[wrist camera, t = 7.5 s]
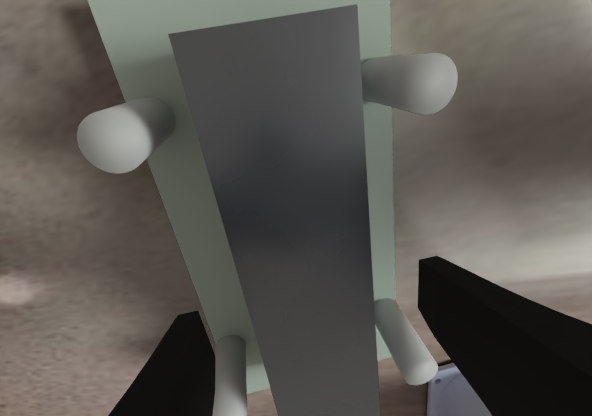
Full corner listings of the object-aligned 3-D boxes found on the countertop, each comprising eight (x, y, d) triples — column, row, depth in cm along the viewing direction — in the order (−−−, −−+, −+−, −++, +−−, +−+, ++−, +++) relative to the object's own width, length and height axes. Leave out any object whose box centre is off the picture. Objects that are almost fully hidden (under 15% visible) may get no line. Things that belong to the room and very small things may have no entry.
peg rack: (387, 336, 20) (434, 421, 16) (234, 374, 20) (231, 478, 15) (374, -37, 12) (470, -111, 7) (101, 3, 11) (-12, -49, 6)
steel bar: (346, 343, 18) (381, 436, 14) (278, 361, 18) (291, 461, 13) (310, 29, 11) (357, 4, 7) (198, 48, 11) (167, 34, 6)
